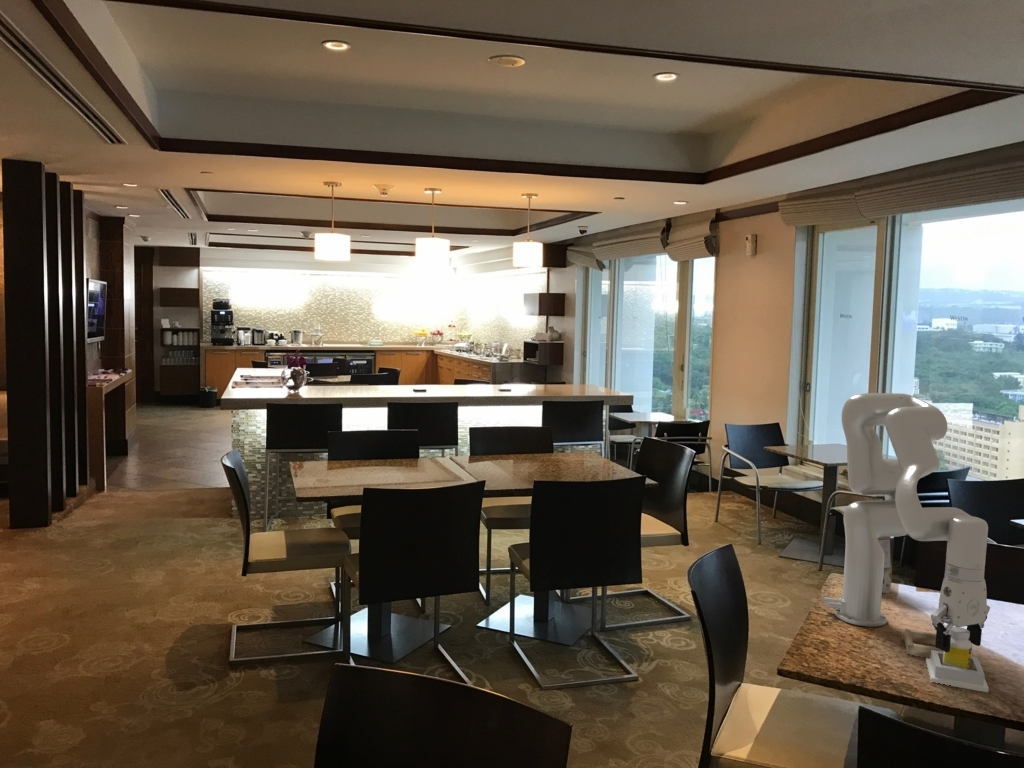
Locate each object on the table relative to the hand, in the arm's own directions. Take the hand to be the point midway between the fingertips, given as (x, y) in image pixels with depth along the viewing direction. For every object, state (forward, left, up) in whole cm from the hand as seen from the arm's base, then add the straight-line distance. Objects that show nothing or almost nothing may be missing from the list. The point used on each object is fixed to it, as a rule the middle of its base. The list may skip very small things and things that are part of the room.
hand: (957, 646), depth 179 cm
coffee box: (-15, +56, -7) cm, 59 cm away
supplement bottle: (0, 0, -6) cm, 6 cm away
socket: (0, 0, -7) cm, 7 cm away
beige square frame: (-4, +13, -7) cm, 16 cm away
